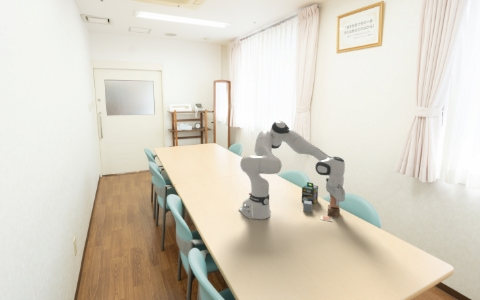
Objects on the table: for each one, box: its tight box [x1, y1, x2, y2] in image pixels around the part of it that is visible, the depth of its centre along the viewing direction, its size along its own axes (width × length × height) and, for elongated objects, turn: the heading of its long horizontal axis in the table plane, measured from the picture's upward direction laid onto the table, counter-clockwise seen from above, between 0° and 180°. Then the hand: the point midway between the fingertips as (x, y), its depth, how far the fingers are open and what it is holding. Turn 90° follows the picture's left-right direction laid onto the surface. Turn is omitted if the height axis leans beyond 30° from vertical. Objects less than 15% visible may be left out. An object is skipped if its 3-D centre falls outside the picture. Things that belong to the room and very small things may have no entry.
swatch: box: [320, 215, 333, 223], centre depth 167 cm, size 7×6×1 cm
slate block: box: [302, 200, 313, 213], centre depth 178 cm, size 5×5×6 cm
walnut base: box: [327, 204, 341, 218], centre depth 172 cm, size 7×7×5 cm
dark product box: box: [301, 181, 319, 205], centre depth 192 cm, size 9×9×15 cm
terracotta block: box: [329, 194, 340, 208], centre depth 171 cm, size 5×5×6 cm
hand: (334, 202), depth 171 cm, fingers closed on terracotta block, 6 cm apart
